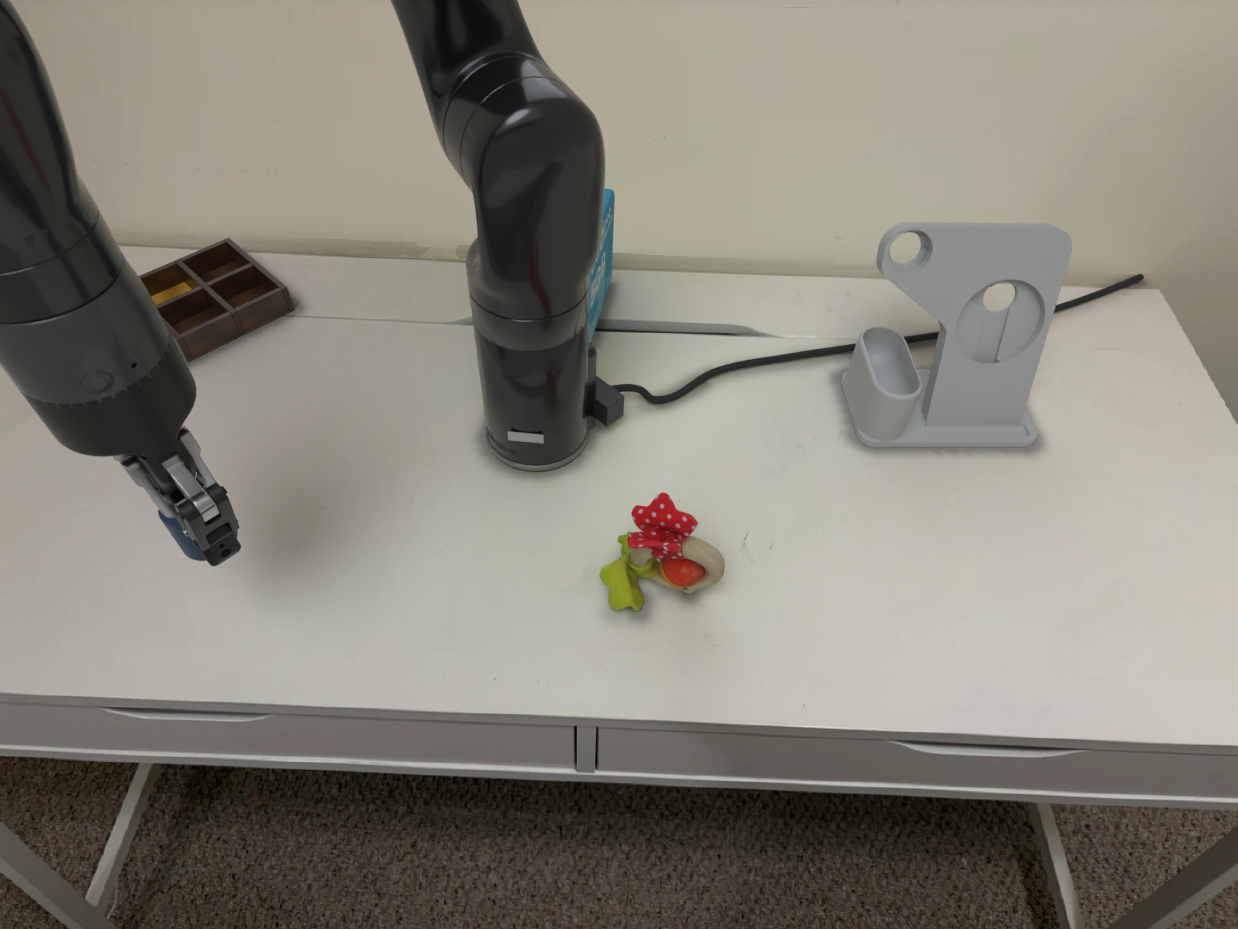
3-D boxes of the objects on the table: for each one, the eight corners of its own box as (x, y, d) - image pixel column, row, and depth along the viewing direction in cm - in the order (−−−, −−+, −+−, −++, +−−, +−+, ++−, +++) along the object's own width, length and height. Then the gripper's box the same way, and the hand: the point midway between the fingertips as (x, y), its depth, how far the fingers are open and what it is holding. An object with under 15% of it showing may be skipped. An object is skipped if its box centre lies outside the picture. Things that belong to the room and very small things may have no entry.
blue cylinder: (220, 508, 57) (199, 472, 54) (248, 538, 56) (228, 503, 53) (172, 539, 56) (147, 503, 53) (198, 570, 54) (174, 536, 51)
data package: (588, 352, 84) (589, 252, 74) (545, 345, 84) (541, 245, 75) (611, 280, 91) (615, 182, 82) (572, 274, 92) (571, 176, 83)
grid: (237, 259, 91) (228, 237, 89) (294, 309, 86) (287, 287, 84) (132, 305, 86) (120, 283, 83) (187, 362, 81) (176, 339, 78)
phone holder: (856, 447, 77) (916, 291, 63) (834, 372, 83) (884, 215, 69) (1038, 447, 77) (1136, 293, 64) (1002, 372, 84) (1084, 218, 70)
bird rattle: (686, 569, 70) (589, 535, 67) (759, 501, 62) (652, 460, 59) (683, 635, 66) (580, 602, 63) (760, 572, 58) (646, 531, 55)
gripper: (226, 379, 41) (316, 566, 55) (99, 257, 47) (208, 451, 61) (76, 460, 38) (211, 639, 51) (-40, 317, 44) (107, 509, 57)
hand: (208, 536), depth 56 cm, fingers closed on blue cylinder, 3 cm apart
